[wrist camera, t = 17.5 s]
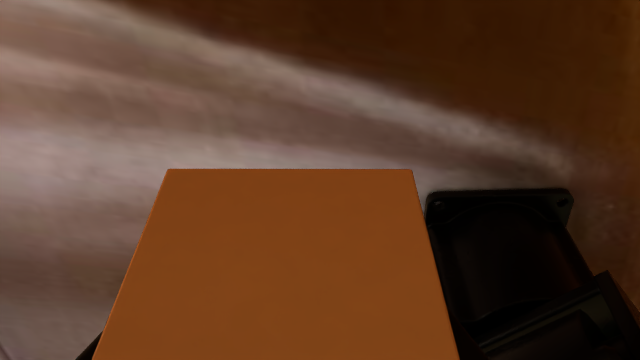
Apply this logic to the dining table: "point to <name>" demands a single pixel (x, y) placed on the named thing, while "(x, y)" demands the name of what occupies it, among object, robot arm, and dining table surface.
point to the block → (282, 270)
